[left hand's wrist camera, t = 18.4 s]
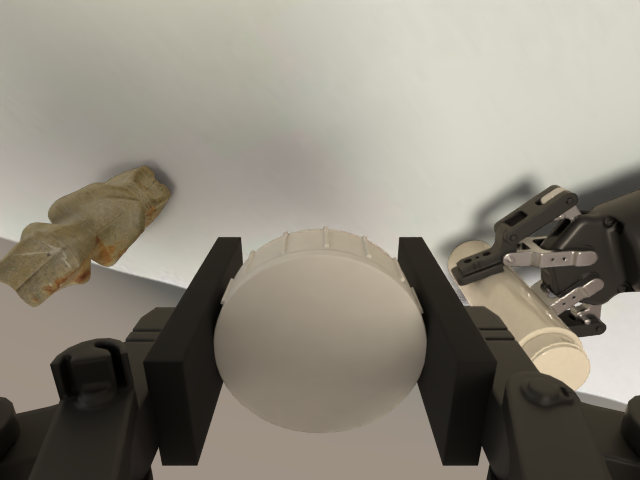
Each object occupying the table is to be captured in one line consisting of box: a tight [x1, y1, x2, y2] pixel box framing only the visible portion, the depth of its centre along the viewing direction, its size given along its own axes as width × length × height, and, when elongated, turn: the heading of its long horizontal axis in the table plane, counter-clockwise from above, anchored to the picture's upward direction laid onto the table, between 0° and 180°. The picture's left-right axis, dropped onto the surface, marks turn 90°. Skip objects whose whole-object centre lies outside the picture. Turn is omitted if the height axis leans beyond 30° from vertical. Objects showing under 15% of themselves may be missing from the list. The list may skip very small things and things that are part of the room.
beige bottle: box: [448, 241, 590, 391], centre depth 34 cm, size 5×5×16 cm
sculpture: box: [0, 166, 171, 307], centre depth 32 cm, size 6×7×15 cm
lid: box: [214, 227, 427, 433], centre depth 11 cm, size 5×5×2 cm
